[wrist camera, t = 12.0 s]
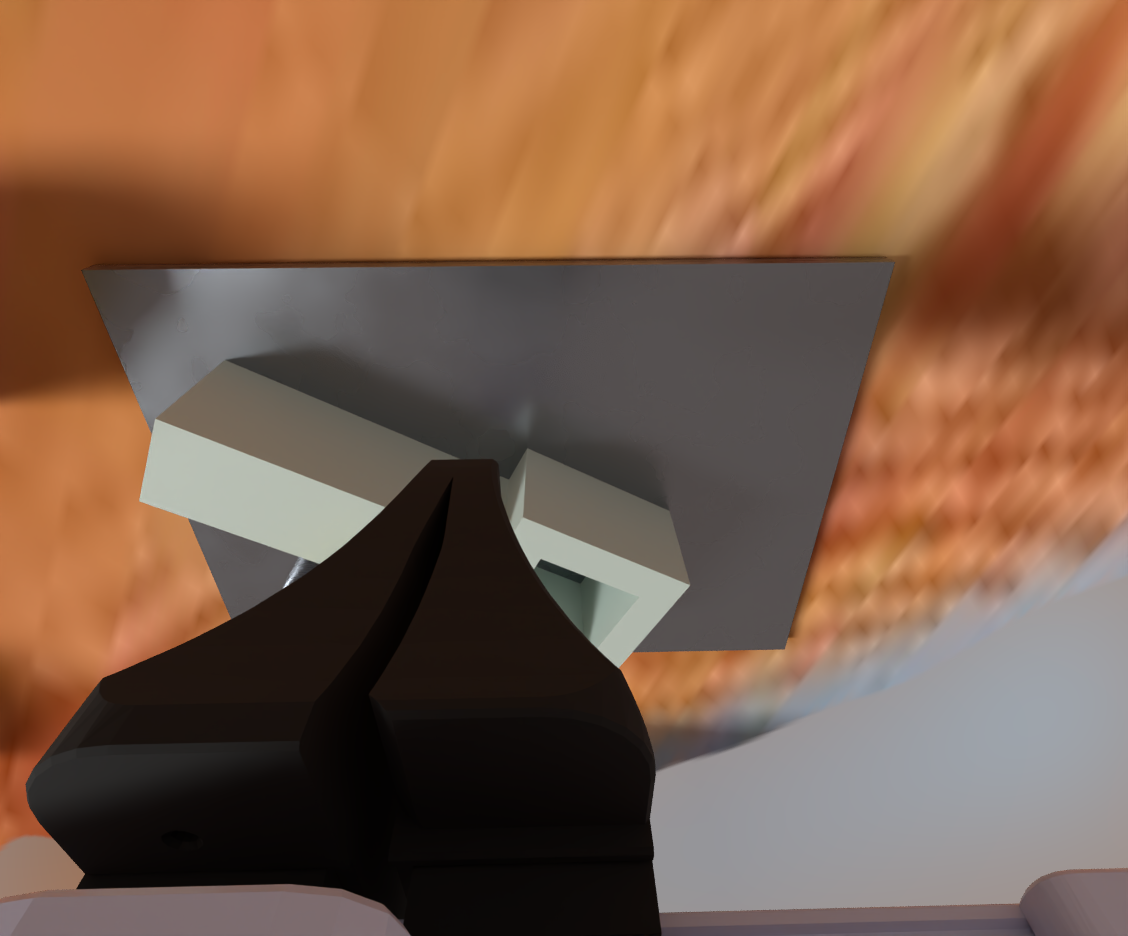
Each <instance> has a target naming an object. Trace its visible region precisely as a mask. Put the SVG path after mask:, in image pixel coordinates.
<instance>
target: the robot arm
mask: <svg viewBox="0 0 1128 936" xmlns="http://www.w3.org/2000/svg"><path fill="white" fill-rule="evenodd" d="M655 776H656V772H655V759H654V754H653V750H652V746H651V742H650V739H649V736H648V732H647V729H646V726H645V724H644V721H643V718H642V716H641V713H640V711H639V708H638V706H637V704H636V701H635V699H634V697H633V695H632V692H631V690H630V688H629V686H628V684H627V682H626V680H625V678H624V676H623V674H622V671H621V670H620V669H619V668H618V667H617V666H615V665H614V664H613V663H612V662H611V661H610V660H609V659H608V658H607V657H606V656H604V655H603V654H602V653H601V652H600V651H599V650H598V649H597V648H596V647H595V646H594V645H593V644H592V643H591V642H590V641H589V640H588V639H587V638H586V637H585V635H584V634H583V633H582V632H581V631H580V630H579V629H578V628H577V627H576V626H575V625H574V624H573V622H572V621H571V620H570V619H569V617H568V616H567V615H566V614H565V612H564V611H563V610H562V609H561V607H560V606H559V605H558V604H557V602H556V601H555V600H554V599H553V597H552V596H551V595H550V593H549V592H548V591H547V589H546V588H545V586H544V585H543V583H542V582H541V580H540V579H539V577H538V576H537V574H536V572H535V571H534V569H533V567H532V566H531V564H530V562H529V561H528V559H527V557H526V555H525V553H524V551H523V549H522V547H521V546H520V543H519V541H518V539H517V537H516V535H515V533H514V531H513V528H512V526H511V523H510V521H509V518H508V515H507V512H506V510H505V507H504V504H503V501H502V497H501V486H500V473H499V464H498V463H497V462H496V461H495V460H494V459H449V460H431V461H430V462H429V463H428V464H427V465H426V466H425V467H424V468H423V469H422V470H421V471H420V472H419V473H418V474H417V475H416V476H415V477H414V478H413V479H412V480H411V481H410V482H409V483H408V484H407V485H406V487H405V488H404V489H403V490H402V491H401V492H400V493H399V494H398V495H397V496H396V497H395V498H394V499H393V500H392V501H391V502H390V503H389V504H388V505H387V506H386V507H385V508H384V509H383V510H382V511H381V512H380V513H379V514H378V515H377V516H376V517H375V518H374V519H373V520H372V521H371V522H370V523H368V524H367V525H366V526H365V527H364V528H363V529H362V530H361V531H359V532H358V533H357V534H356V535H355V536H354V537H353V538H352V539H351V540H349V541H348V542H347V543H346V544H345V545H343V546H342V547H341V548H340V549H339V550H337V551H336V552H335V553H333V554H332V555H331V556H330V557H328V558H327V559H326V560H324V561H323V562H322V563H320V564H319V565H317V566H316V567H315V568H313V569H312V570H310V571H309V572H308V573H306V574H305V575H303V576H302V577H301V578H299V579H298V580H296V581H294V582H293V583H291V584H290V585H288V586H286V587H285V588H283V589H282V590H280V591H278V592H277V593H275V594H274V595H272V596H270V597H269V598H267V599H265V600H264V601H262V602H261V603H259V604H257V605H256V606H254V607H252V608H251V609H249V610H247V611H245V612H244V613H242V614H240V615H238V616H236V617H234V618H233V619H231V620H229V621H227V622H225V623H223V624H221V625H219V626H218V627H216V628H214V629H212V630H210V631H208V632H206V633H204V634H202V635H200V636H198V637H196V638H194V639H192V640H190V641H187V642H185V643H183V644H181V645H179V646H177V647H175V648H172V649H170V650H168V651H165V652H163V653H161V654H159V655H156V656H154V657H152V658H149V659H147V660H145V661H142V662H140V663H138V664H136V665H133V666H131V667H129V668H126V669H124V670H122V671H119V672H117V673H114V674H112V675H109V676H107V677H104V678H103V679H102V680H101V681H100V682H99V684H98V685H97V686H96V687H95V688H94V690H93V691H92V692H91V694H90V695H89V696H88V698H87V699H86V700H85V702H84V703H83V704H82V706H81V707H80V708H79V710H78V711H77V712H76V713H75V715H74V716H73V717H72V719H71V720H70V721H69V723H68V724H67V725H66V727H65V728H64V729H63V731H62V732H61V733H60V735H59V736H58V737H57V738H56V740H55V741H54V742H53V744H52V745H51V746H50V748H49V749H48V750H47V752H46V753H45V754H44V756H43V757H42V758H41V760H40V761H39V762H38V763H37V765H36V766H35V767H34V769H33V771H32V773H31V775H30V777H29V778H28V780H27V782H26V792H27V801H28V804H29V807H30V809H31V810H32V812H33V814H34V815H35V817H36V818H37V820H38V821H39V823H40V824H41V825H42V826H43V828H44V829H45V830H46V831H47V832H48V833H49V834H50V835H51V836H52V838H53V839H54V840H55V841H56V842H57V843H58V844H59V845H60V846H61V848H62V849H63V850H64V851H65V852H66V853H67V854H68V855H69V856H70V858H71V859H72V860H73V861H74V862H75V863H76V864H77V865H78V866H79V868H80V869H81V870H82V871H83V872H84V873H85V875H84V877H83V879H82V880H81V882H80V884H79V885H78V887H77V889H75V890H74V889H73V890H45V891H40V892H34V893H28V894H22V895H16V896H10V897H5V898H2V899H0V936H1128V868H1120V869H1080V870H1064V871H1057V872H1053V873H1050V874H1048V875H1045V876H1042V877H1040V878H1039V879H1038V880H1036V881H1034V882H1033V883H1032V884H1031V885H1030V886H1029V887H1028V888H1027V890H1026V891H1025V893H1024V895H1023V896H1022V898H1021V901H1020V904H987V905H950V906H908V907H870V908H830V909H792V910H754V911H753V910H752V911H716V912H715V911H713V912H675V913H659V909H658V901H657V893H656V886H655V878H654V871H653V863H652V860H653V858H654V846H653V840H652V832H651V825H650V813H651V806H652V798H653V791H654V783H655Z"/></svg>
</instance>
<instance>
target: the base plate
mask: <svg viewBox="0 0 1128 936" xmlns="http://www.w3.org/2000/svg"><path fill="white" fill-rule="evenodd" d="M894 264H895V262H894V261H892V260H890V259H888V258H886V257H857V258H753V259H650V260H546V261H442V262H339V263H235V264H132V265H93V266H90V267H88V268H85V269H83V270H81V271H82V273H83V275H84V277H85V280H86V282H87V284H88V287H89V289H90V291H91V294H92V296H93V298H94V301H95V303H96V305H97V308H98V310H99V312H100V315H101V317H102V319H103V322H104V324H105V326H106V329H107V331H108V333H109V336H110V338H111V340H112V343H113V345H114V347H115V350H116V352H117V354H118V357H119V359H120V361H121V364H122V366H123V368H124V371H125V373H126V375H127V377H128V380H129V382H130V384H131V387H132V389H133V391H134V394H135V396H136V398H137V401H138V403H139V405H140V408H141V410H142V412H143V415H144V417H145V419H146V422H147V424H148V426H149V429H150V431H151V433H153V427H154V422H155V418H157V417H158V416H159V415H160V414H161V413H163V412H164V411H165V410H166V409H167V408H168V407H170V406H171V405H172V404H173V403H174V402H176V401H177V400H178V399H179V398H180V397H181V396H183V395H184V394H185V393H186V392H187V391H189V390H190V389H191V388H192V387H193V386H194V385H196V384H197V383H198V382H199V381H200V380H202V379H203V378H204V377H205V376H206V375H207V374H209V373H210V372H211V371H212V370H213V369H215V368H216V367H217V366H218V365H219V364H220V363H222V362H223V361H224V360H226V361H229V362H231V363H233V364H236V365H238V366H240V367H243V368H245V369H248V370H250V371H252V372H255V373H257V374H259V375H262V376H264V377H267V378H269V379H271V380H274V381H276V382H278V383H281V384H283V385H286V386H288V387H290V388H293V389H295V390H297V391H300V392H302V393H305V394H307V395H309V396H312V397H314V398H316V399H319V400H321V401H324V402H326V403H328V404H331V405H333V406H335V407H338V408H340V409H342V410H345V411H347V412H350V413H352V414H354V415H357V416H359V417H361V418H364V419H366V420H369V421H371V422H373V423H376V424H378V425H380V426H383V427H385V428H388V429H390V430H392V431H395V432H397V433H399V434H402V435H404V436H407V437H409V438H411V439H414V440H416V441H418V442H421V443H423V444H425V445H428V446H430V447H433V448H435V449H437V450H440V451H442V452H444V453H447V454H449V455H452V456H454V457H456V458H459V459H494V460H495V461H496V462H497V463H498V464H499V473H500V476H501V477H504V478H506V479H510V477H511V475H512V474H513V472H514V470H515V469H516V467H517V465H518V463H519V462H520V460H521V458H522V456H523V455H524V453H525V451H526V450H527V448H528V449H530V450H532V451H535V452H537V453H539V454H541V455H544V456H546V457H548V458H551V459H553V460H555V461H557V462H560V463H562V464H564V465H566V466H569V467H571V468H573V469H575V470H578V471H580V472H582V473H585V474H587V475H589V476H591V477H594V478H596V479H598V480H600V481H603V482H605V483H607V484H609V485H612V486H614V487H616V488H619V489H621V490H623V491H625V492H628V493H630V494H632V495H634V496H637V497H639V498H641V499H643V500H646V501H648V502H650V503H653V504H655V505H657V506H659V507H662V508H664V509H666V510H668V511H670V514H671V518H672V522H673V525H674V529H675V532H676V536H677V539H678V543H679V547H680V550H681V554H682V557H683V561H684V564H685V568H686V572H687V575H688V579H689V582H690V586H689V587H688V589H687V590H686V591H685V592H684V593H683V594H682V596H681V597H680V598H679V599H678V600H677V601H676V602H675V604H674V605H673V606H672V607H671V608H670V609H669V610H668V612H667V613H666V614H665V615H664V616H663V617H662V619H661V620H660V621H659V622H658V623H657V624H656V625H655V627H654V628H653V629H652V630H651V631H650V632H649V634H648V635H647V636H646V637H645V638H644V639H643V640H642V642H641V643H640V644H639V645H638V646H637V647H636V649H635V650H634V651H633V652H668V651H720V650H773V649H785V646H786V643H787V639H788V636H789V632H790V629H791V625H792V622H793V618H794V615H795V611H796V608H797V604H798V600H799V597H800V593H801V590H802V586H803V583H804V579H805V576H806V572H807V569H808V565H809V562H810V558H811V555H812V551H813V548H814V544H815V541H816V537H817V534H818V530H819V527H820V523H821V520H822V516H823V513H824V509H825V506H826V502H827V499H828V495H829V492H830V488H831V485H832V481H833V478H834V474H835V471H836V467H837V464H838V460H839V457H840V453H841V450H842V446H843V443H844V439H845V436H846V432H847V429H848V425H849V422H850V418H851V415H852V411H853V408H854V404H855V401H856V397H857V394H858V390H859V387H860V383H861V380H862V376H863V373H864V369H865V366H866V362H867V359H868V355H869V352H870V348H871V345H872V341H873V338H874V334H875V331H876V327H877V324H878V320H879V317H880V313H881V310H882V306H883V302H884V299H885V295H886V292H887V288H888V285H889V281H890V278H891V274H892V271H893V267H894ZM188 519H189V518H188ZM189 522H190V524H191V526H192V529H193V531H194V533H195V536H196V538H197V540H198V543H199V545H200V547H201V550H202V552H203V554H204V557H205V559H206V561H207V564H208V566H209V568H210V570H211V573H212V575H213V577H214V580H215V582H216V584H217V587H218V589H219V591H220V594H221V596H222V598H223V601H224V603H225V605H226V608H227V610H228V612H229V615H230V617H231V619H233V618H234V617H236V616H238V615H240V614H242V613H244V612H245V611H247V610H249V609H251V608H252V607H254V606H256V605H257V604H259V603H261V602H262V601H264V600H265V599H267V598H269V597H270V596H272V595H274V594H275V593H277V592H278V591H280V590H281V589H282V587H283V585H284V583H285V581H286V579H287V577H288V575H289V574H290V572H291V570H292V568H293V566H294V564H295V562H296V560H297V559H298V556H295V555H292V554H290V553H287V552H284V551H281V550H278V549H275V548H272V547H269V546H267V545H264V544H261V543H258V542H255V541H252V540H249V539H246V538H244V537H241V536H238V535H235V534H232V533H229V532H226V531H223V530H221V529H218V528H215V527H212V526H209V525H206V524H203V523H200V522H198V521H195V520H192V519H189ZM536 567H538V568H541V569H544V570H546V571H549V572H551V573H554V574H557V575H559V576H562V577H564V578H567V579H570V580H572V581H575V582H577V583H580V584H581V582H582V581H583V580H584V578H585V577H586V576H584V575H581V574H578V573H576V572H573V571H571V570H568V569H566V568H563V567H560V566H558V565H555V564H553V563H550V562H548V561H545V560H542V559H540V561H539V562H538V564H537V565H536Z"/></svg>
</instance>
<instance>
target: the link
mask: <svg viewBox="0 0 1128 936" xmlns="http://www.w3.org/2000/svg"><path fill="white" fill-rule="evenodd" d="M449 459H459V458H456V457H454V456H452V455H449V454H447V453H444V452H442V451H440V450H437V449H435V448H433V447H430V446H428V445H425V444H423V443H421V442H418V441H416V440H414V439H411V438H409V437H407V436H404V435H402V434H399V433H397V432H395V431H392V430H390V429H388V428H385V427H383V426H380V425H378V424H376V423H373V422H371V421H369V420H366V419H364V418H361V417H359V416H357V415H354V414H352V413H350V412H347V411H345V410H342V409H340V408H338V407H335V406H333V405H331V404H328V403H326V402H324V401H321V400H319V399H316V398H314V397H312V396H309V395H307V394H305V393H302V392H300V391H297V390H295V389H293V388H290V387H288V386H286V385H283V384H281V383H278V382H276V381H274V380H271V379H269V378H267V377H264V376H262V375H259V374H257V373H255V372H252V371H250V370H248V369H245V368H243V367H240V366H238V365H236V364H233V363H231V362H229V361H226V360H224V361H223V362H222V363H220V364H219V365H218V366H217V367H216V368H215V369H213V370H212V371H211V372H210V373H209V374H207V375H206V376H205V377H204V378H203V379H202V380H200V381H199V382H198V383H197V384H196V385H194V386H193V387H192V388H191V389H190V390H189V391H187V392H186V393H185V394H184V395H183V396H181V397H180V398H179V399H178V400H177V401H176V402H174V403H173V404H172V405H171V406H170V407H168V408H167V409H166V410H165V411H164V412H163V413H161V414H160V415H159V416H158V417H157V418H155V422H154V427H153V433H152V438H151V443H150V448H149V453H148V458H147V464H146V469H145V474H144V479H143V484H142V489H141V495H140V500H139V501H140V502H143V503H146V504H149V505H151V506H154V507H157V508H160V509H163V510H166V511H169V512H172V513H175V514H177V515H180V516H183V517H186V518H189V519H192V520H195V521H198V522H200V523H203V524H206V525H209V526H212V527H215V528H218V529H221V530H223V531H226V532H229V533H232V534H235V535H238V536H241V537H244V538H246V539H249V540H252V541H255V542H258V543H261V544H264V545H267V546H269V547H272V548H275V549H278V550H281V551H284V552H287V553H290V554H292V555H295V556H298V557H301V558H304V559H307V560H310V561H313V562H316V563H318V564H320V563H322V562H323V561H324V560H326V559H327V558H328V557H330V556H331V555H332V554H333V553H335V552H336V551H337V550H339V549H340V548H341V547H342V546H343V545H345V544H346V543H347V542H348V541H349V540H351V539H352V538H353V537H354V536H355V535H356V534H357V533H358V532H359V531H361V530H362V529H363V528H364V527H365V526H366V525H367V524H368V523H370V522H371V521H372V520H373V519H374V518H375V517H376V516H377V515H378V514H379V513H380V512H381V511H382V510H383V509H384V508H385V507H386V506H387V505H388V504H389V503H390V502H391V501H392V500H393V499H394V498H395V497H396V496H397V495H398V494H399V493H400V492H401V491H402V490H403V489H404V488H405V487H406V485H407V484H408V483H409V482H410V481H411V480H412V479H413V478H414V477H415V476H416V475H417V474H418V473H419V472H420V471H421V470H422V469H423V468H424V467H425V466H426V465H427V464H428V463H429V462H430V461H431V460H449ZM500 486H501V497H502V501H503V504H504V507H505V510H506V512H507V515H508V518H509V521H510V523H511V526H512V528H513V531H514V533H515V535H516V537H517V539H518V541H519V543H520V546H521V547H522V549H523V551H524V553H525V555H526V557H527V559H528V561H529V562H530V564H531V566H532V567H533V569H534V571H535V572H536V574H537V576H538V577H539V579H540V580H541V582H542V583H543V585H544V586H545V588H546V589H547V591H548V592H549V593H550V595H551V596H552V597H553V599H554V600H555V601H556V602H557V604H558V605H559V606H560V607H561V609H562V610H563V611H564V612H565V614H566V615H567V616H568V617H569V619H570V620H571V621H572V622H573V624H574V625H575V626H576V627H577V628H578V629H579V630H580V631H581V632H582V633H583V634H584V635H585V637H586V638H587V639H588V640H589V641H590V642H591V643H592V644H593V645H594V646H595V647H596V648H597V649H598V650H599V651H600V652H601V653H602V654H603V655H604V656H606V657H607V658H608V659H609V660H610V661H611V662H612V663H613V664H614V665H615V666H617V667H618V668H619V667H620V666H621V665H622V664H623V662H624V661H625V660H626V659H627V658H628V657H629V655H630V654H631V653H632V652H633V651H634V650H635V649H636V647H637V646H638V645H639V644H640V643H641V642H642V640H643V639H644V638H645V637H646V636H647V635H648V634H649V632H650V631H651V630H652V629H653V628H654V627H655V625H656V624H657V623H658V622H659V621H660V620H661V619H662V617H663V616H664V615H665V614H666V613H667V612H668V610H669V609H670V608H671V607H672V606H673V605H674V604H675V602H676V601H677V600H678V599H679V598H680V597H681V596H682V594H683V593H684V592H685V591H686V590H687V589H688V587H689V586H690V582H689V579H688V575H687V572H686V568H685V564H684V561H683V557H682V554H681V550H680V547H679V543H678V539H677V536H676V532H675V529H674V525H673V522H672V518H671V514H670V511H668V510H666V509H664V508H662V507H659V506H657V505H655V504H653V503H650V502H648V501H646V500H643V499H641V498H639V497H637V496H634V495H632V494H630V493H628V492H625V491H623V490H621V489H619V488H616V487H614V486H612V485H609V484H607V483H605V482H603V481H600V480H598V479H596V478H594V477H591V476H589V475H587V474H585V473H582V472H580V471H578V470H575V469H573V468H571V467H569V466H566V465H564V464H562V463H560V462H557V461H555V460H553V459H551V458H548V457H546V456H544V455H541V454H539V453H537V452H535V451H532V450H530V449H528V448H527V450H526V451H525V453H524V455H523V456H522V458H521V460H520V462H519V463H518V465H517V467H516V469H515V470H514V472H513V474H512V475H511V477H510V479H506V478H504V477H501V476H500ZM540 559H542V560H545V561H548V562H550V563H553V564H555V565H558V566H560V567H563V568H566V569H568V570H571V571H573V572H576V573H578V574H581V575H584V576H586V577H585V578H584V580H583V581H582V582H581V584H580V583H577V582H575V581H572V580H570V579H567V578H564V577H562V576H559V575H557V574H554V573H551V572H549V571H546V570H544V569H541V568H538V567H536V565H537V564H538V562H539V561H540Z"/></svg>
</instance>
